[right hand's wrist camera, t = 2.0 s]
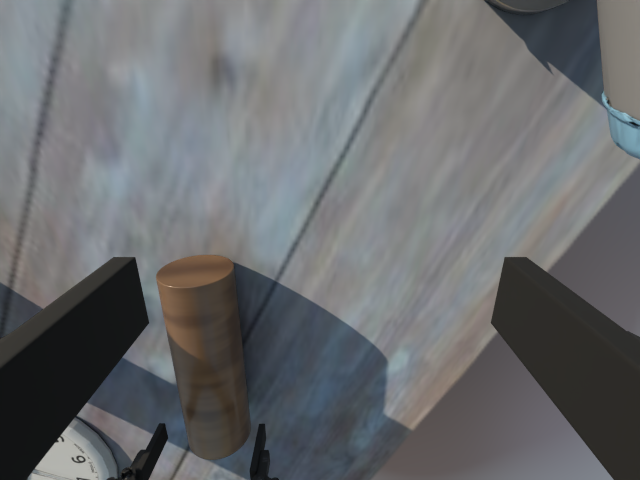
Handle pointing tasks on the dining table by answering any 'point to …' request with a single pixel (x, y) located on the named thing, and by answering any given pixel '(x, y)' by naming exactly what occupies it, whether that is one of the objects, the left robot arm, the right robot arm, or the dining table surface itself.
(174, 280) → the rod
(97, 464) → the wall clock
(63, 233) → the dining table surface
